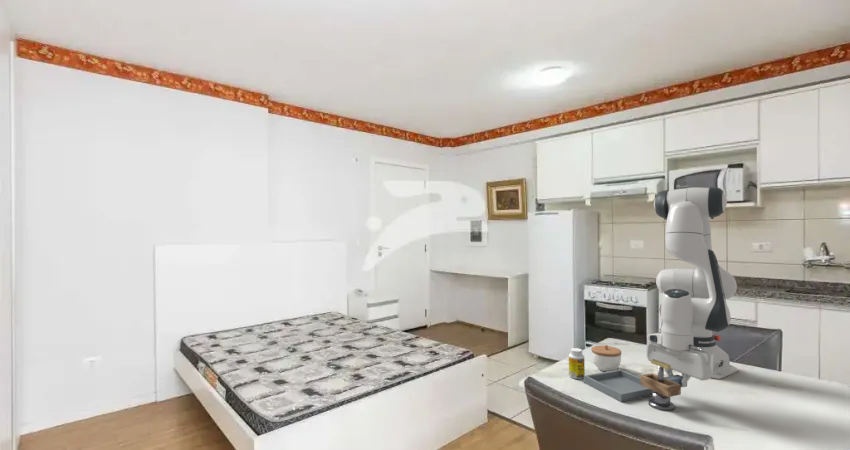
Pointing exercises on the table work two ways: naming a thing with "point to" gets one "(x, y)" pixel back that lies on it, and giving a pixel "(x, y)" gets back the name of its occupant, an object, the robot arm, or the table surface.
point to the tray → (618, 385)
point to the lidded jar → (606, 357)
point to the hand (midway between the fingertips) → (677, 384)
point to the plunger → (657, 398)
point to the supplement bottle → (576, 364)
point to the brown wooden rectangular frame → (666, 389)
